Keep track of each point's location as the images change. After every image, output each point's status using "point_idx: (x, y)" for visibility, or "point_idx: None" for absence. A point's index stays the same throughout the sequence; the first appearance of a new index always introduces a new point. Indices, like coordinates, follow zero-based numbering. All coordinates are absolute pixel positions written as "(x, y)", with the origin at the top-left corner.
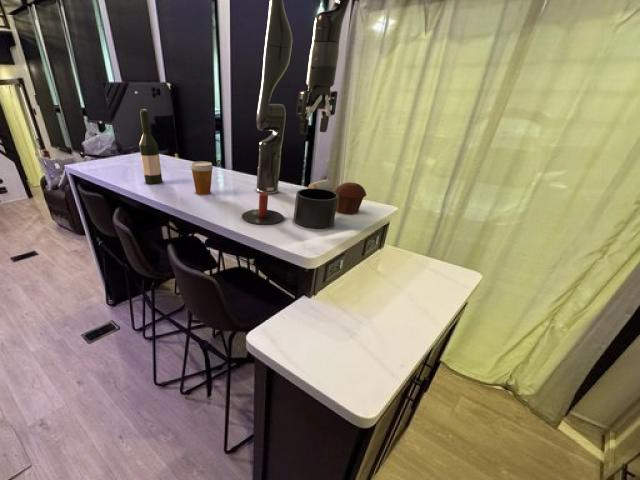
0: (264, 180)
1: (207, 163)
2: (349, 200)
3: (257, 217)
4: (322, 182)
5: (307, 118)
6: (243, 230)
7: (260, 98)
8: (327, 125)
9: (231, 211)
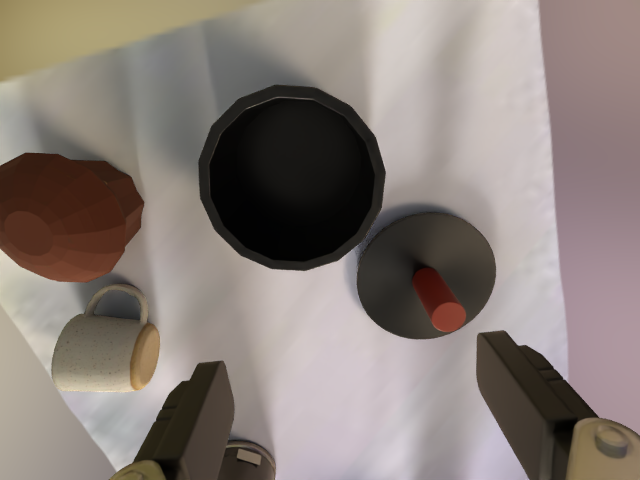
0: None
1: None
2: (100, 177)
3: (449, 277)
4: (91, 367)
5: (602, 426)
6: (536, 227)
7: None
8: (166, 410)
9: (460, 370)
